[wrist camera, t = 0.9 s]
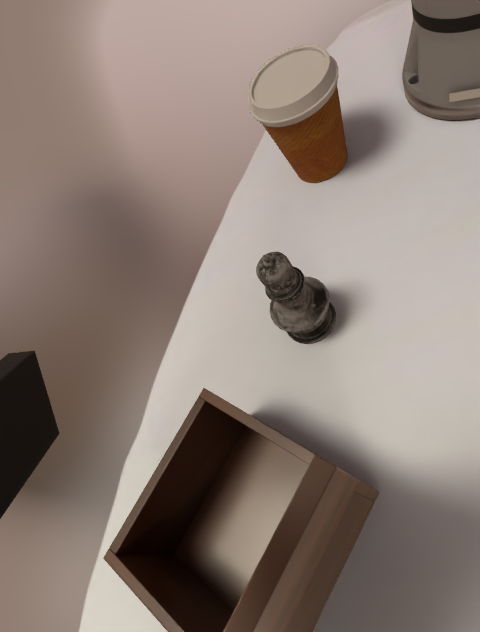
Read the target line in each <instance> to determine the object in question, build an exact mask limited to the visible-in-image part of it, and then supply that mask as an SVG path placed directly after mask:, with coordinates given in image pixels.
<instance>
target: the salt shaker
mask: <svg viewBox="0 0 480 632" xmlns="http://www.w3.org/2000/svg"><path fill="white" fill-rule="evenodd" d="M256 272H257V276H258V278H259V279H260V281H261V282H262V283H263V284H264V286H265V290H266V294H267V296H268V298H270V299H271V303H270V314H271V318H272V320H273V322H274V323H275V325H277V326H278V327H279V328H280V329H282V330H284V331H286V332H287V333H288V334H289V336H290V337H291V338H292V339H293V340H295V341H297V342H299V343H304V344H310V343H315V342H318V341H320V340H322V339H323V338H325V337H326V336H327V335H328V334H329V333H330V332H331V330H332V329H333V327H334V325H335V321H336V312H335V309H334V307H333V305H332V304H331V303H330V302H329V294H328V291H327V289H326V287H325V286H324V284H323V283H321V282H320V281H319V280H317V279H314V278H311V277H304V275H303V273H302V272H301V270H299V269H298V268H296V267H293V266H292V264H291V263H290V261H289V260H288V258H287V257H286V256H285V255H284V254H282V253H280V252H271V253H268V254H266V255H263V257H262V258H261V259H260V261H259V262H258V264H257V268H256Z"/></svg>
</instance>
